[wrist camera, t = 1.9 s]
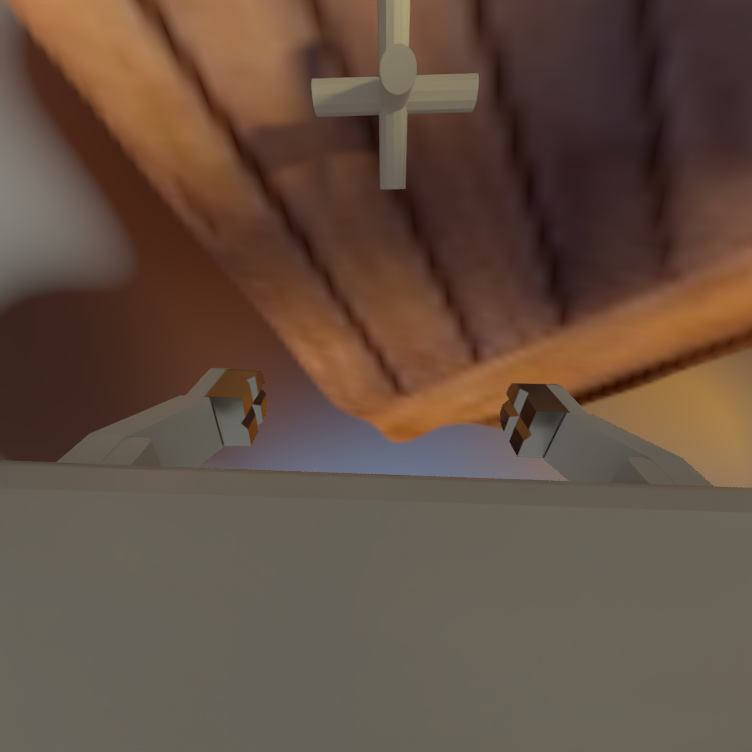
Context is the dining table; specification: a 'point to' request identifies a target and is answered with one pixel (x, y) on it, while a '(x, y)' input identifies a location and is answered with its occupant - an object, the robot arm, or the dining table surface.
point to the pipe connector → (394, 92)
